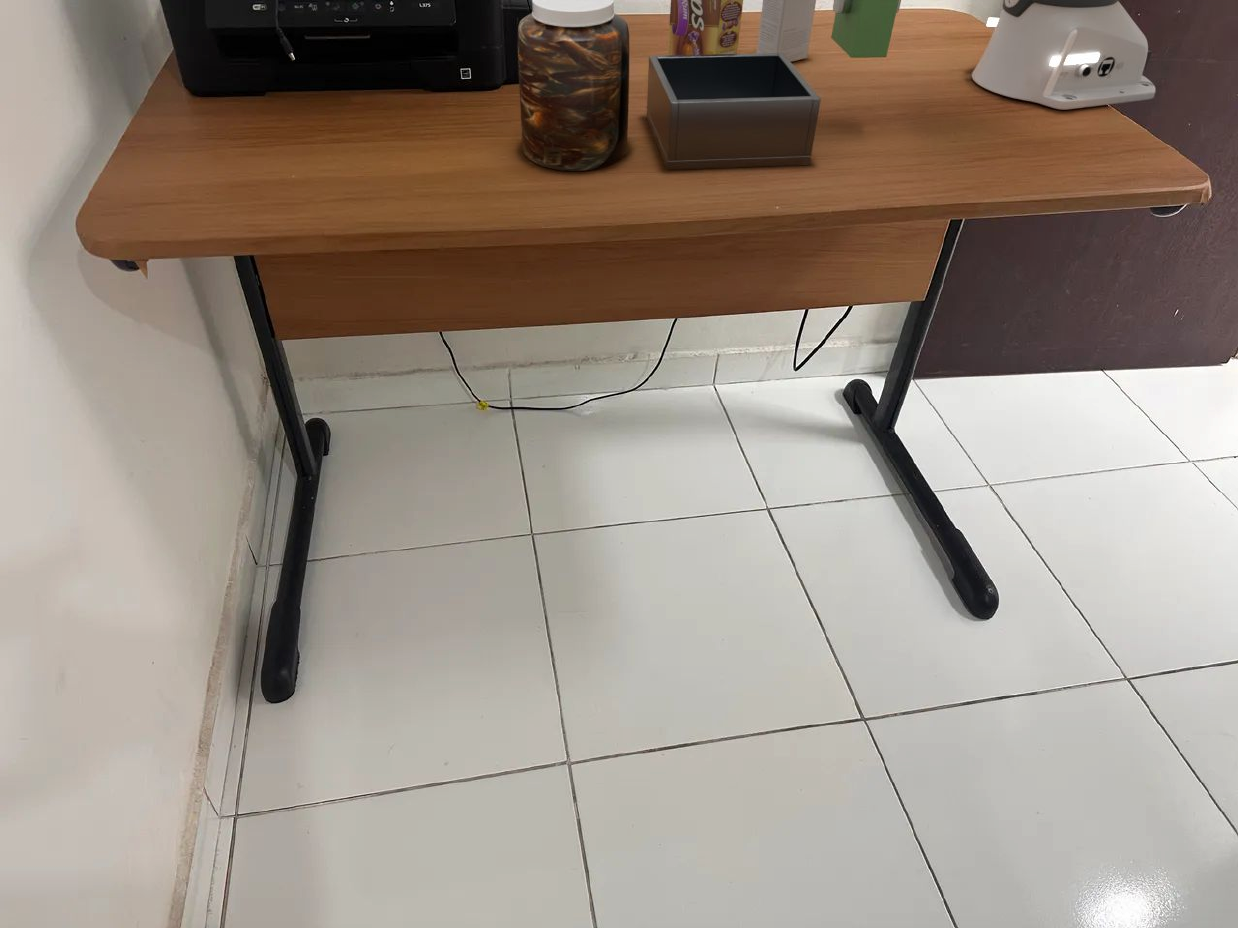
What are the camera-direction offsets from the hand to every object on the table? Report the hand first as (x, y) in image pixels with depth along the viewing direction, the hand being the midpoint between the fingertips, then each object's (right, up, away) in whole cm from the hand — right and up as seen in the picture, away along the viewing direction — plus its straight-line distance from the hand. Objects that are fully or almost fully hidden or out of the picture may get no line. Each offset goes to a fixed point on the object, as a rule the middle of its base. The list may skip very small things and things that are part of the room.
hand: (864, 12), depth 93 cm
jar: (-31, -14, +2) cm, 34 cm away
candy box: (-16, +1, +19) cm, 25 cm away
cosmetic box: (-4, +7, +26) cm, 27 cm away
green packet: (0, -3, +2) cm, 4 cm away
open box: (-15, -12, +5) cm, 20 cm away
